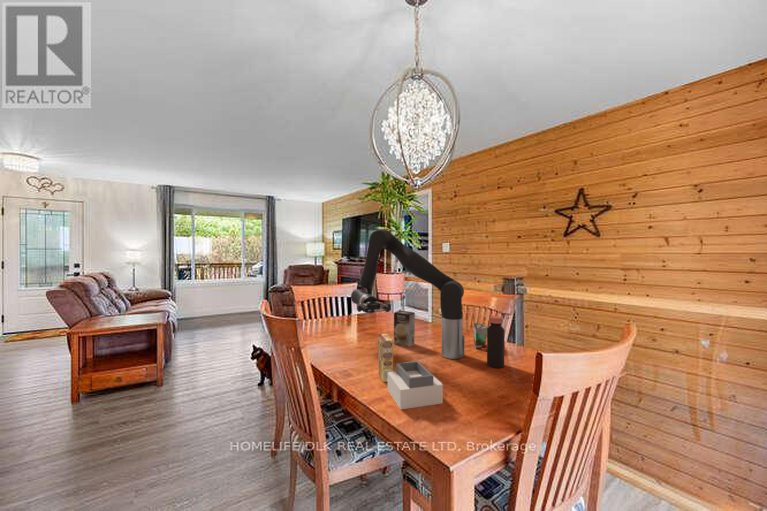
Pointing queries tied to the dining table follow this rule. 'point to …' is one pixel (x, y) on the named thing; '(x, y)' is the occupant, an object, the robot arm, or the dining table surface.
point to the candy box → (385, 356)
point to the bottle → (495, 343)
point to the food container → (480, 335)
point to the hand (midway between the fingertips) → (377, 310)
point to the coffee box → (404, 328)
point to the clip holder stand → (414, 386)
